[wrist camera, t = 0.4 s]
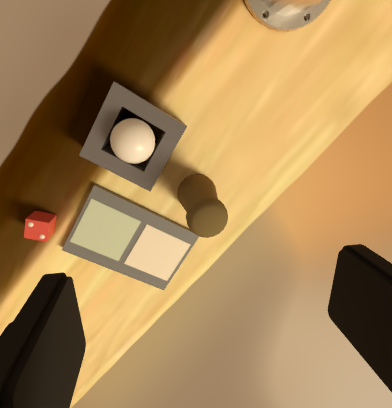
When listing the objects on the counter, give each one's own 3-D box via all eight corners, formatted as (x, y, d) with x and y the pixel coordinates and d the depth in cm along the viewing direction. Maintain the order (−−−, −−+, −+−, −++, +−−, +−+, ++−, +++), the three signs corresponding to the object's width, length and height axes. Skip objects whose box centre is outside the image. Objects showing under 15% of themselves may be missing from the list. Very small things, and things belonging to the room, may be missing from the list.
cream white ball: (125, 109, 34) (119, 111, 30) (162, 131, 36) (163, 136, 31) (107, 145, 36) (98, 153, 31) (143, 165, 37) (141, 175, 32)
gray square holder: (118, 83, 35) (113, 81, 31) (184, 123, 38) (187, 126, 34) (86, 149, 37) (79, 155, 34) (150, 183, 40) (150, 191, 37)
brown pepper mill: (185, 215, 43) (193, 251, 33) (172, 182, 41) (176, 209, 31) (220, 203, 43) (239, 235, 33) (209, 168, 41) (226, 191, 31)
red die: (34, 210, 40) (25, 219, 37) (56, 214, 40) (48, 223, 37) (33, 228, 41) (23, 238, 38) (54, 232, 41) (46, 241, 38)
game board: (95, 183, 39) (94, 185, 39) (198, 233, 45) (199, 236, 44) (63, 247, 42) (61, 250, 42) (163, 287, 48) (163, 290, 47)
